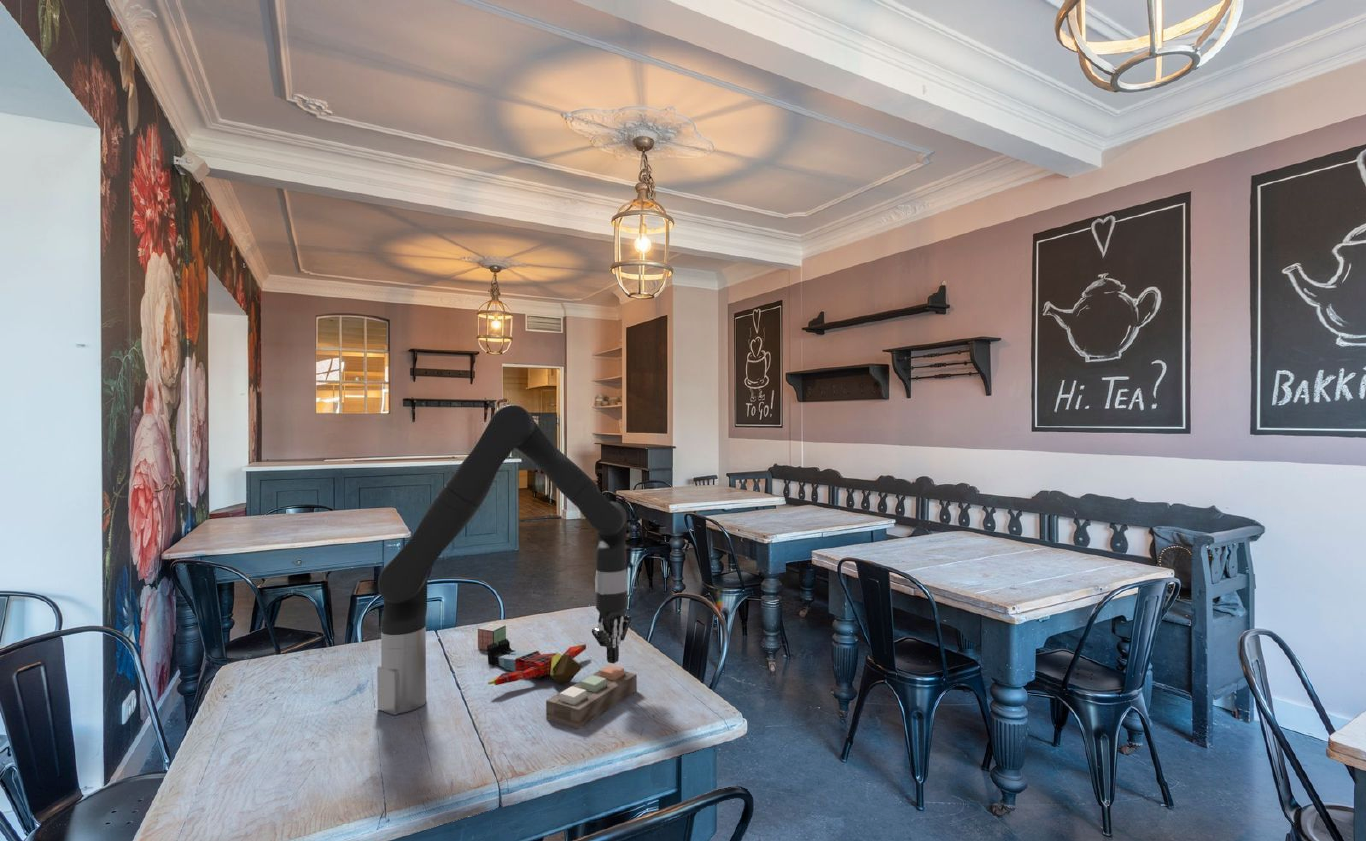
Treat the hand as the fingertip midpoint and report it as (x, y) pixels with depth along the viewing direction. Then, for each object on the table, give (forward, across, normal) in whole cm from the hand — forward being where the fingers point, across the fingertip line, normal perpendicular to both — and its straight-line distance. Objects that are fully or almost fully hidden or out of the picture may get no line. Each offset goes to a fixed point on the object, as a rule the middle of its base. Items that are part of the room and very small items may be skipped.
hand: (612, 662), depth 147 cm
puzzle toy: (+7, -8, -49) cm, 50 cm away
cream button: (+5, +14, 0) cm, 15 cm away
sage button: (+5, +7, 0) cm, 9 cm away
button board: (+7, +7, 0) cm, 10 cm away
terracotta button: (+5, 0, 0) cm, 5 cm away
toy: (+8, 0, -25) cm, 26 cm away
